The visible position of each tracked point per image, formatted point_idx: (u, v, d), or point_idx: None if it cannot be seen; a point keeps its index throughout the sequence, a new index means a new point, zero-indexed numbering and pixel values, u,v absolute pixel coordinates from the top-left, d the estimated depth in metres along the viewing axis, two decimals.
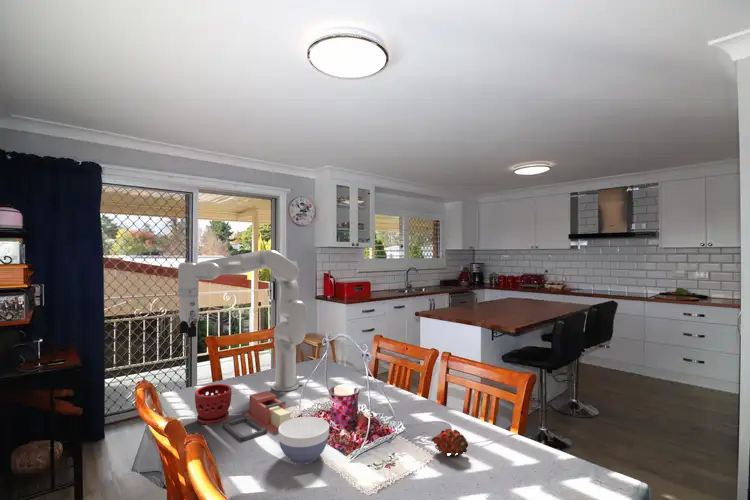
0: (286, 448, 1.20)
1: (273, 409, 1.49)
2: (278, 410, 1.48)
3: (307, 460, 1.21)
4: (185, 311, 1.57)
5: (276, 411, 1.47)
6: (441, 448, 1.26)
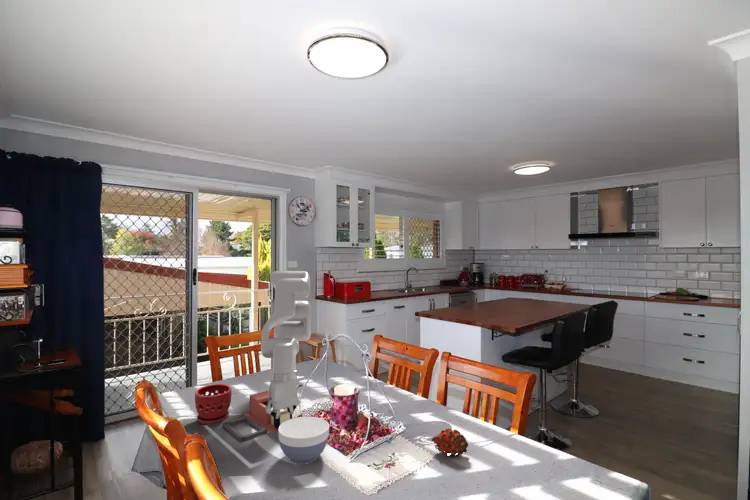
0: (286, 448, 1.20)
1: None
2: None
3: (307, 460, 1.21)
4: (295, 394, 1.47)
5: None
6: (441, 448, 1.26)
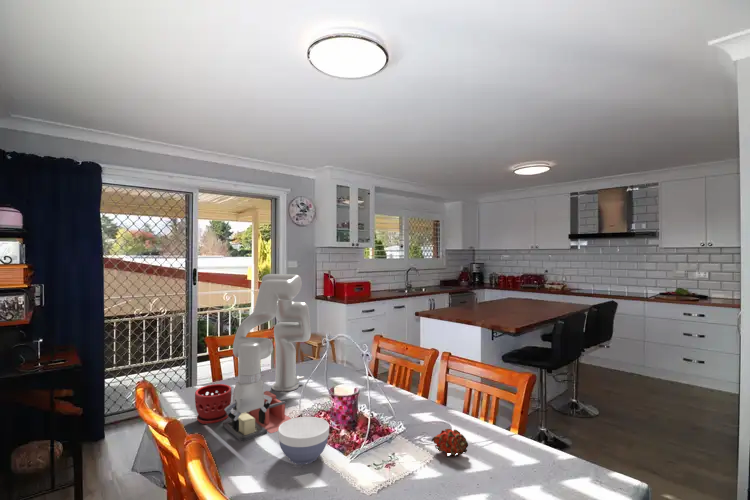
0: (286, 448, 1.20)
1: None
2: (243, 416, 1.43)
3: (307, 460, 1.21)
4: (262, 396, 1.41)
5: (241, 417, 1.42)
6: (441, 448, 1.26)
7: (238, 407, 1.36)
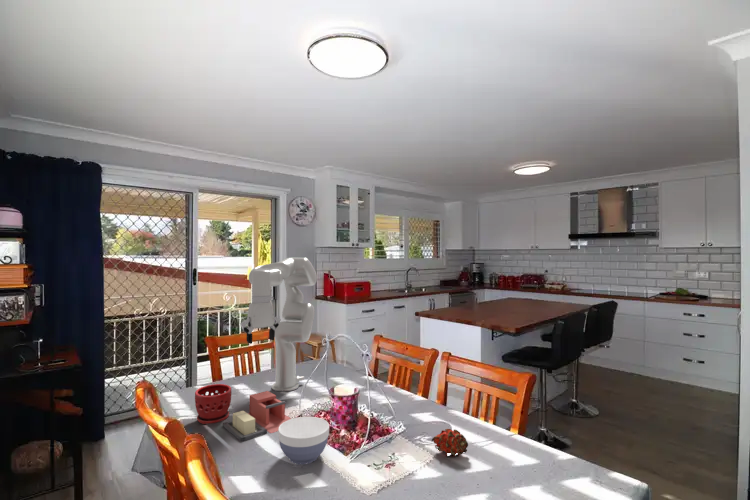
0: (286, 448, 1.20)
1: (238, 415, 1.44)
2: (243, 416, 1.43)
3: (307, 460, 1.21)
4: (272, 316, 1.64)
5: (241, 417, 1.42)
6: (441, 448, 1.26)
7: (252, 322, 1.59)
